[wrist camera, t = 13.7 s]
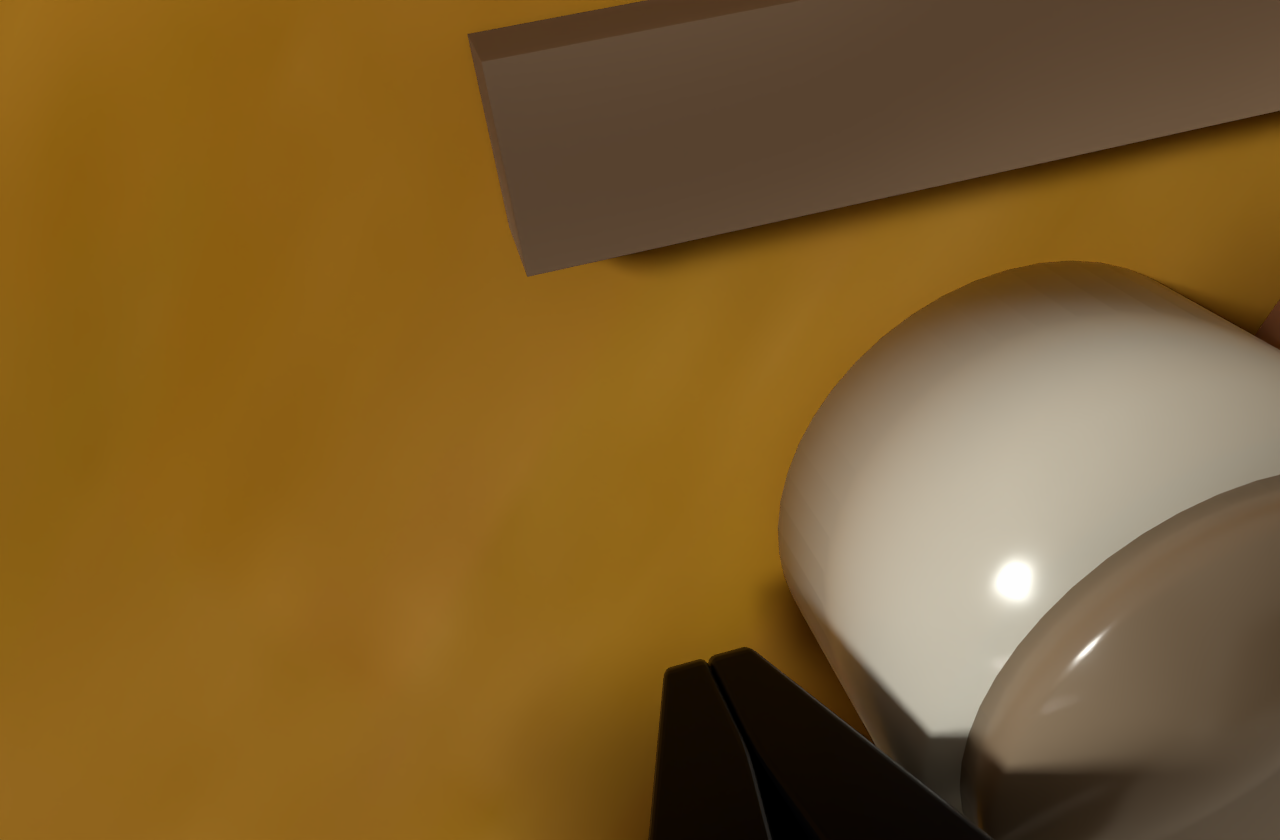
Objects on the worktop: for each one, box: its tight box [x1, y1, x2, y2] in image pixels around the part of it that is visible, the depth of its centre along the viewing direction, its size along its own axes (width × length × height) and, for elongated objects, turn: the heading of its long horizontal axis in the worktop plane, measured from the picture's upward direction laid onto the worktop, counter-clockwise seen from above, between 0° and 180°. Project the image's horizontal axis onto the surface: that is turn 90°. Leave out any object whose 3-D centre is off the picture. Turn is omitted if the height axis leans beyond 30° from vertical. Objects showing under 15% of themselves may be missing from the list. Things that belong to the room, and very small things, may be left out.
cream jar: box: [778, 261, 1280, 840], centre depth 10 cm, size 6×6×4 cm
